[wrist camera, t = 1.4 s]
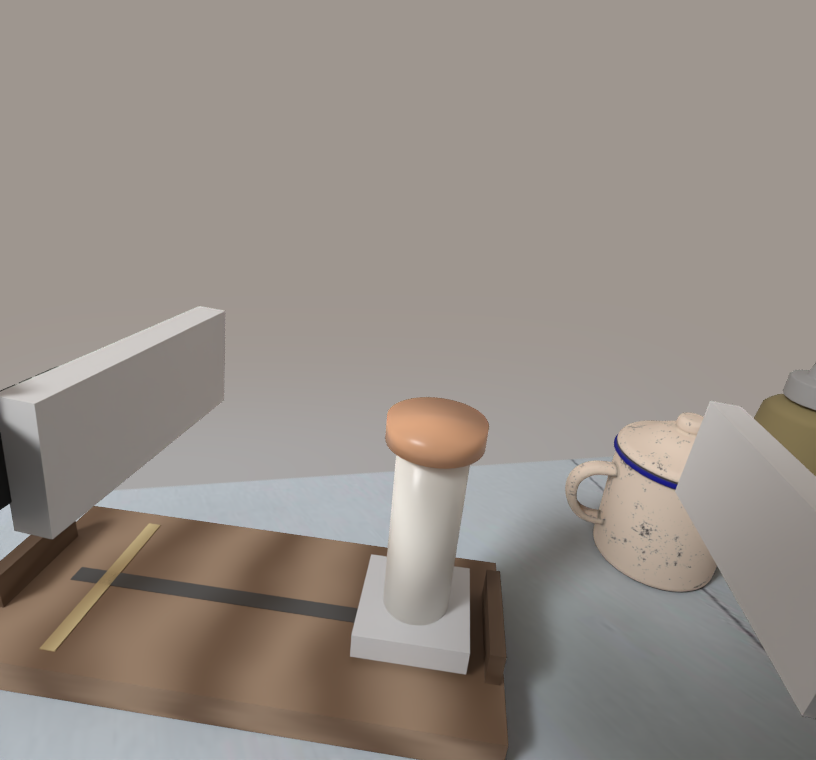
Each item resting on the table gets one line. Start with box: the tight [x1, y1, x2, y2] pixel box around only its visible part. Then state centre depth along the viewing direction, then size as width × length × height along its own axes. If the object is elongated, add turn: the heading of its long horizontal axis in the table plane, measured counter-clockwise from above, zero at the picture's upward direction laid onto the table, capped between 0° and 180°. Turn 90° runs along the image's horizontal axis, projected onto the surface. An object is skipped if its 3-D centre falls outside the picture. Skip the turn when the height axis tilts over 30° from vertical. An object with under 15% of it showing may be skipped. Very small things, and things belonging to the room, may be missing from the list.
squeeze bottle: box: [754, 363, 816, 476], centre depth 40 cm, size 8×8×18 cm
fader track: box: [0, 506, 508, 760], centre depth 31 cm, size 28×12×4 cm, turn 84°
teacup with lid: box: [565, 413, 717, 592], centre depth 39 cm, size 12×9×12 cm
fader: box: [350, 397, 489, 675], centre depth 28 cm, size 6×6×13 cm
